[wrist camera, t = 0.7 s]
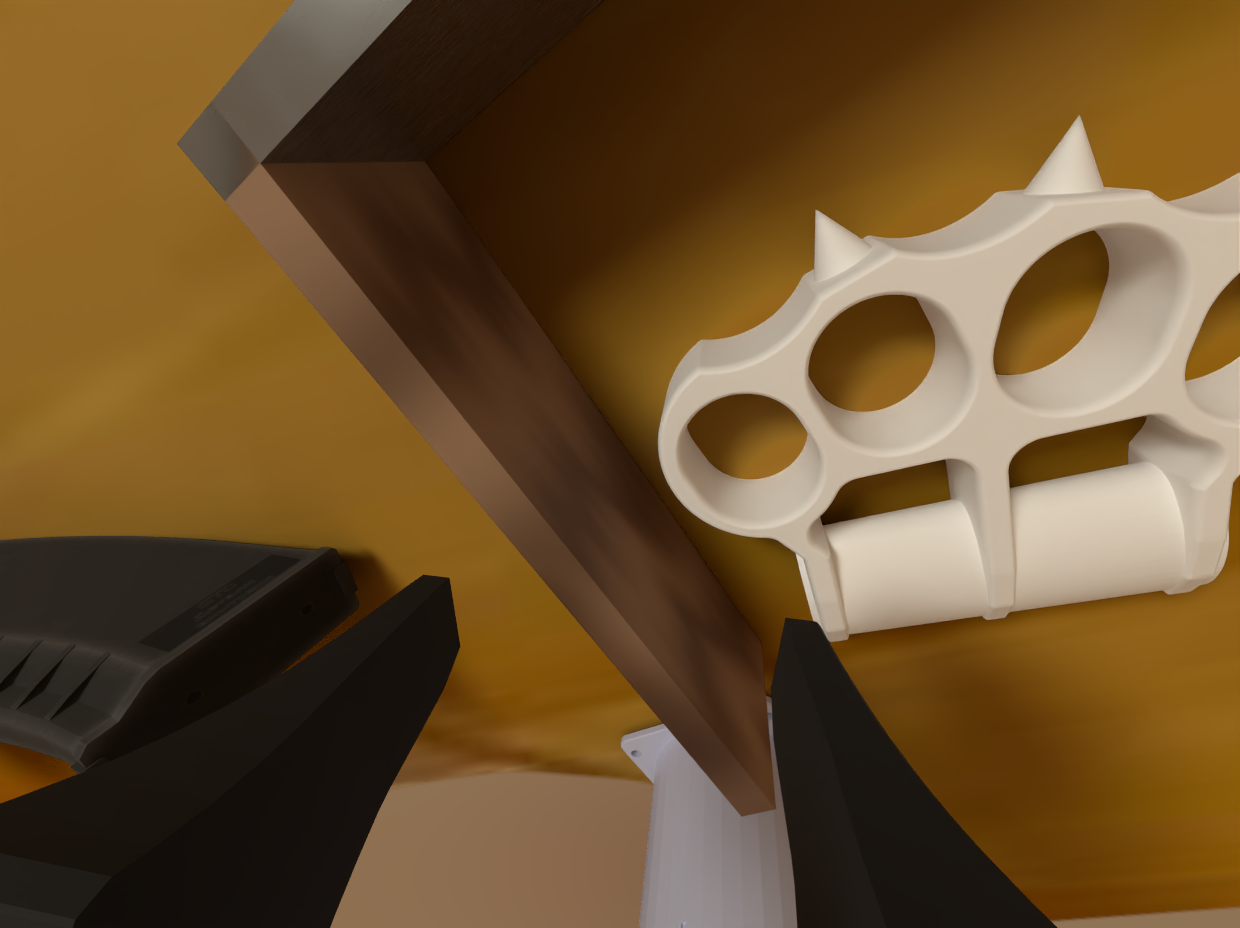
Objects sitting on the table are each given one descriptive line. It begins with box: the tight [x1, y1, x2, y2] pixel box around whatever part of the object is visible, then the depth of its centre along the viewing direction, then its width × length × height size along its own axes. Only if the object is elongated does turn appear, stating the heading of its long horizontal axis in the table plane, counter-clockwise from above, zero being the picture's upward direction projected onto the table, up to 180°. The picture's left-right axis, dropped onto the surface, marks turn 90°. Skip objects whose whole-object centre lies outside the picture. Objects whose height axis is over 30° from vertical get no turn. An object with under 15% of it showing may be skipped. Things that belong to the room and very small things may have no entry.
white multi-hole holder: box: [658, 115, 1240, 642], centre depth 17 cm, size 3×18×15 cm
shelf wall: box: [206, 103, 776, 817], centre depth 13 cm, size 23×23×7 cm
